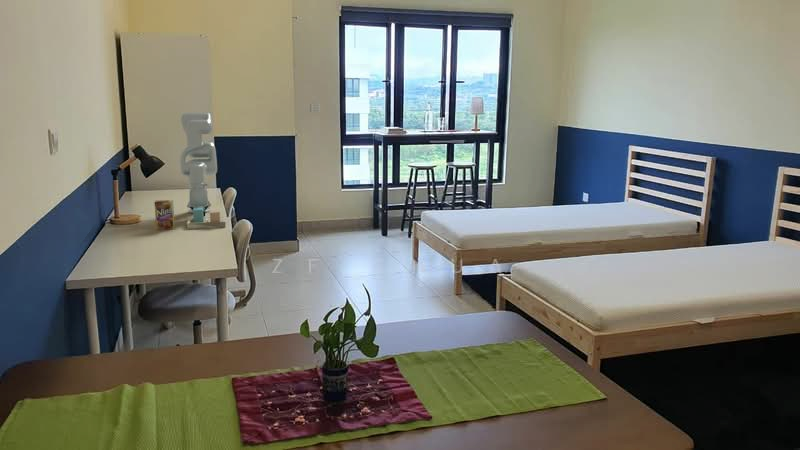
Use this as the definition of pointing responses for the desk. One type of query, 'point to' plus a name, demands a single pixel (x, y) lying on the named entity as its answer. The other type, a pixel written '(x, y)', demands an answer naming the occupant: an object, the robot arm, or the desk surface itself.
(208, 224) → the lane shelf
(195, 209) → the teal block
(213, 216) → the ochre block
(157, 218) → the candy box
